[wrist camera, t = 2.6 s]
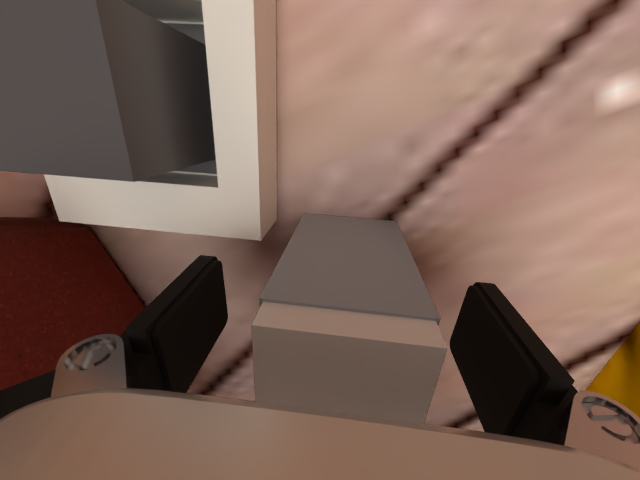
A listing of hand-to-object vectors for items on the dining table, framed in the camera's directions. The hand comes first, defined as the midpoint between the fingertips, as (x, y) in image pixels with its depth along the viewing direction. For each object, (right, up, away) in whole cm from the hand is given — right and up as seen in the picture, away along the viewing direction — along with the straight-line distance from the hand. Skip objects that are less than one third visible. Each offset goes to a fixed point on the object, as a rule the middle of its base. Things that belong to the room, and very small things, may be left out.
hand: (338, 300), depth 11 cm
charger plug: (+1, +1, +5) cm, 6 cm away
